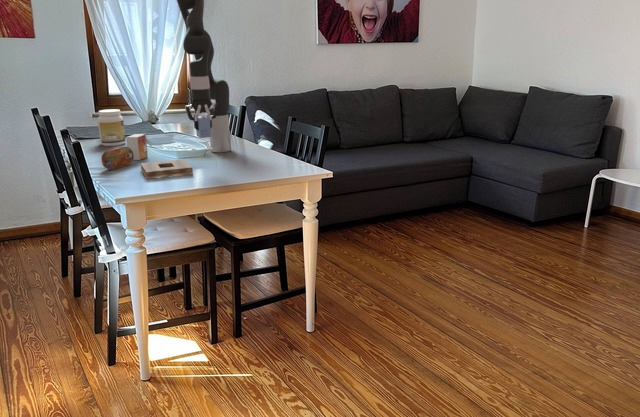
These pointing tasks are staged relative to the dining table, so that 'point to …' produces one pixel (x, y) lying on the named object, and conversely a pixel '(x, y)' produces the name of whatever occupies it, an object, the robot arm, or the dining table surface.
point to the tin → (117, 158)
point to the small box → (137, 145)
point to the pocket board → (166, 169)
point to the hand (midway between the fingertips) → (203, 129)
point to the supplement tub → (111, 127)
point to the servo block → (203, 127)
